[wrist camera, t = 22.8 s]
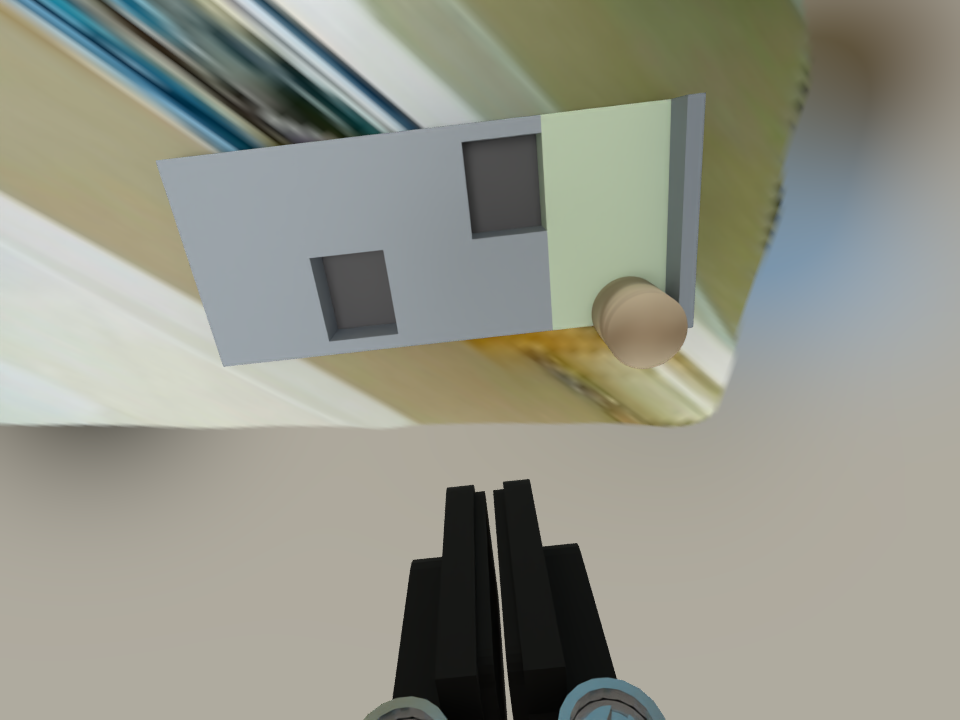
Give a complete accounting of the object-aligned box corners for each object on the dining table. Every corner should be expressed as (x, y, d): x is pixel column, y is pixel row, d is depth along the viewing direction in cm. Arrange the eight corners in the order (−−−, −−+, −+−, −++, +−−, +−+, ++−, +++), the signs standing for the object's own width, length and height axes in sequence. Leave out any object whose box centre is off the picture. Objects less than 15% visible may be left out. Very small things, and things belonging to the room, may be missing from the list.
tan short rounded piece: (593, 277, 35) (610, 294, 31) (665, 275, 35) (692, 291, 31) (589, 345, 37) (605, 369, 33) (658, 342, 37) (682, 367, 33)
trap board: (180, 160, 34) (130, 161, 29) (669, 101, 34) (705, 92, 28) (240, 351, 39) (207, 381, 34) (663, 304, 39) (693, 327, 34)
